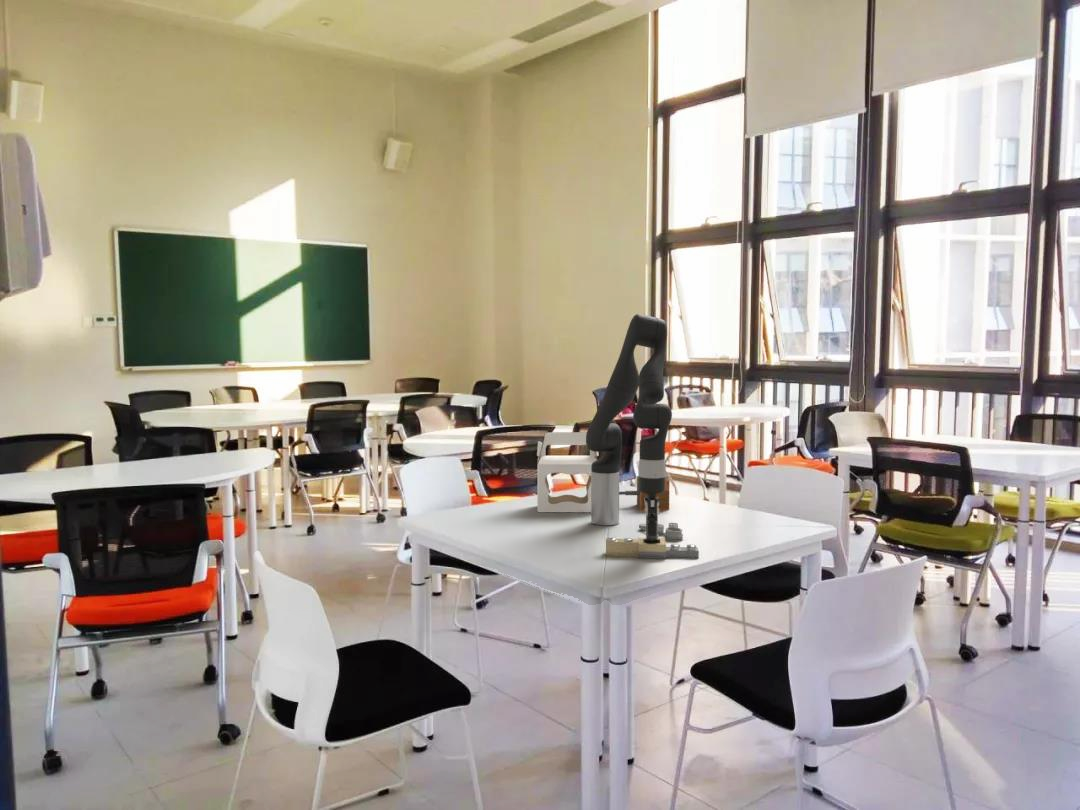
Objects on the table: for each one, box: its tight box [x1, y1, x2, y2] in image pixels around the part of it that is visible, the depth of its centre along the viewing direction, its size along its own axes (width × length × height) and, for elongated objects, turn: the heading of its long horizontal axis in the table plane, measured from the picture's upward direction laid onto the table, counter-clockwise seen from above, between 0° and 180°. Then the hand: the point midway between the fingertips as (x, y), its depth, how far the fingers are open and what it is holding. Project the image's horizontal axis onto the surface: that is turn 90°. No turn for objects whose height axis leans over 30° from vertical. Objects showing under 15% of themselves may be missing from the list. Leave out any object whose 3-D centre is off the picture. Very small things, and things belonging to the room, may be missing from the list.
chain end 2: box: [637, 543, 700, 560], centre depth 226 cm, size 8×17×3 cm, turn 84°
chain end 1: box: [605, 537, 667, 558], centre depth 227 cm, size 8×17×4 cm, turn 84°
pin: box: [644, 508, 660, 543], centre depth 226 cm, size 4×4×13 cm
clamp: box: [619, 475, 670, 511], centre depth 294 cm, size 11×20×14 cm, turn 92°
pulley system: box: [638, 522, 684, 542], centre depth 247 cm, size 27×5×15 cm
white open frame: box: [536, 431, 599, 513], centre depth 291 cm, size 22×13×28 cm, turn 89°
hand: (651, 532), depth 226 cm, fingers open, 8 cm apart
